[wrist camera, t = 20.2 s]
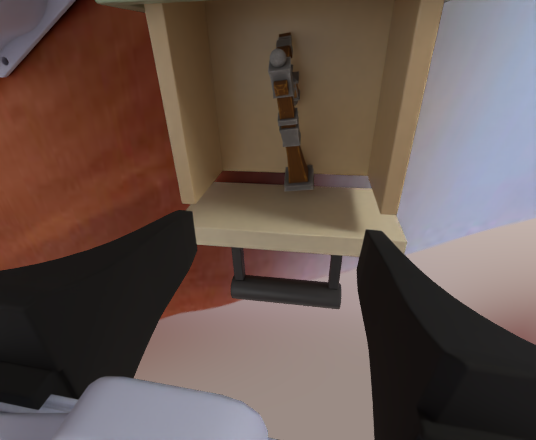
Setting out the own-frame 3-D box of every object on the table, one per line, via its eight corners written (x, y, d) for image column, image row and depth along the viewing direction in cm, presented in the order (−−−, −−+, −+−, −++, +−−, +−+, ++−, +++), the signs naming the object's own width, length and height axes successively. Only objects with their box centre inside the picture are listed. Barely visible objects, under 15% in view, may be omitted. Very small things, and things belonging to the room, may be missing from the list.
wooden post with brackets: (300, 9, 14) (297, 55, 11) (313, 142, 20) (313, 192, 18) (263, 16, 14) (252, 63, 12) (287, 145, 21) (284, 194, 18)
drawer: (371, 261, 23) (385, 327, 18) (218, 249, 25) (190, 305, 20) (437, -84, 13) (513, -170, 8) (177, -60, 15) (97, -117, 10)
